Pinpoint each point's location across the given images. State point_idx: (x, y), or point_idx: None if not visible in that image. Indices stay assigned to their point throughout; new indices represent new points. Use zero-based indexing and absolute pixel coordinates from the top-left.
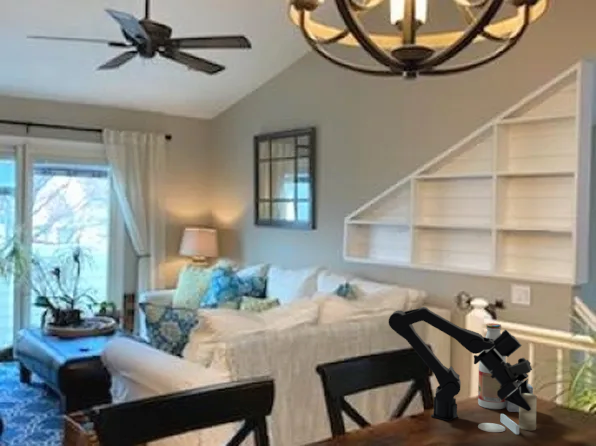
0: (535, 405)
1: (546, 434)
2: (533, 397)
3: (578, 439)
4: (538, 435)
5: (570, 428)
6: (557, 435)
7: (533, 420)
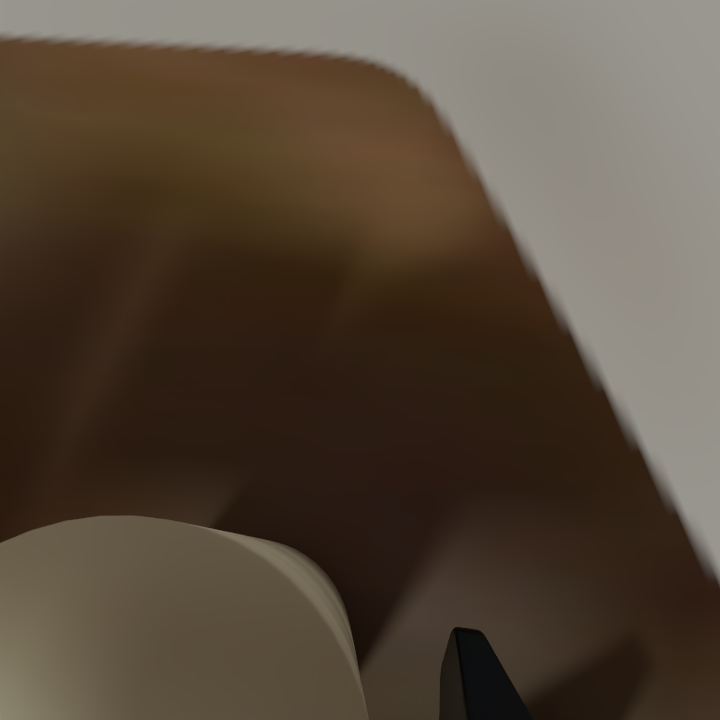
0: (257, 543)
1: (413, 416)
2: (289, 605)
3: (429, 140)
4: (492, 498)
5: (98, 193)
6: (395, 310)
7: (317, 570)
